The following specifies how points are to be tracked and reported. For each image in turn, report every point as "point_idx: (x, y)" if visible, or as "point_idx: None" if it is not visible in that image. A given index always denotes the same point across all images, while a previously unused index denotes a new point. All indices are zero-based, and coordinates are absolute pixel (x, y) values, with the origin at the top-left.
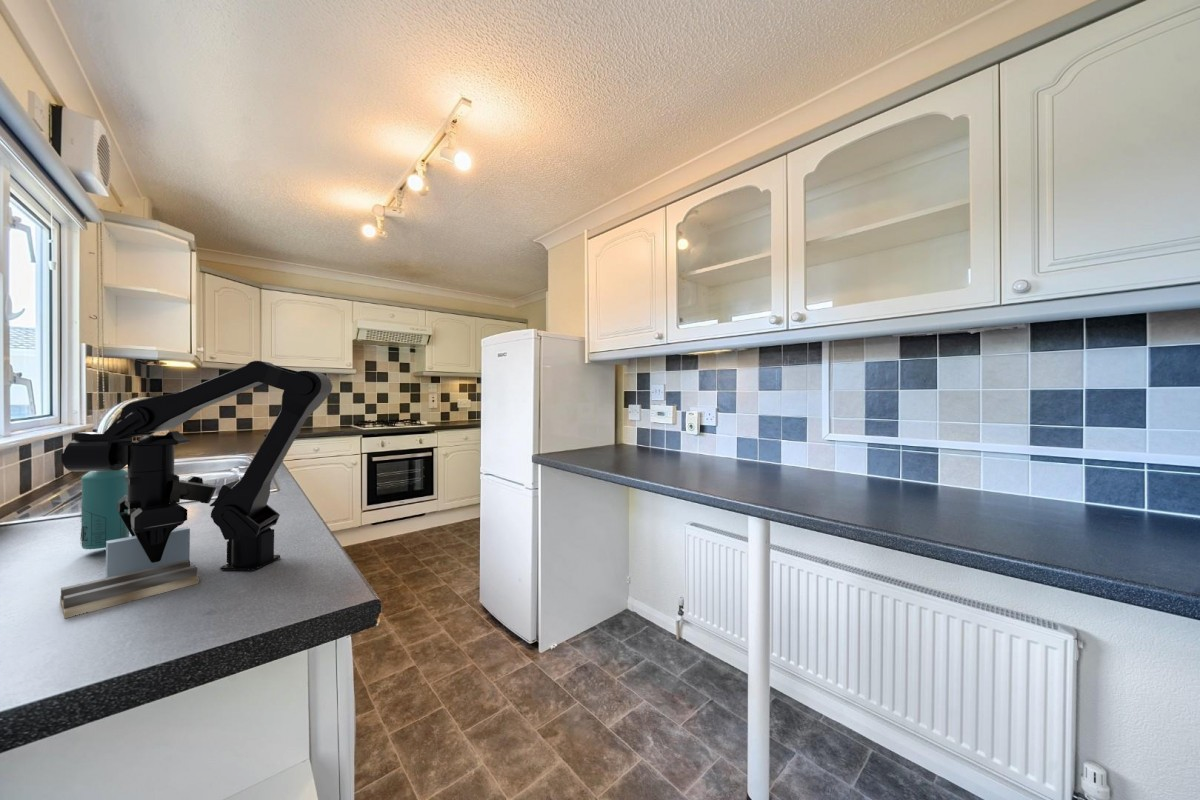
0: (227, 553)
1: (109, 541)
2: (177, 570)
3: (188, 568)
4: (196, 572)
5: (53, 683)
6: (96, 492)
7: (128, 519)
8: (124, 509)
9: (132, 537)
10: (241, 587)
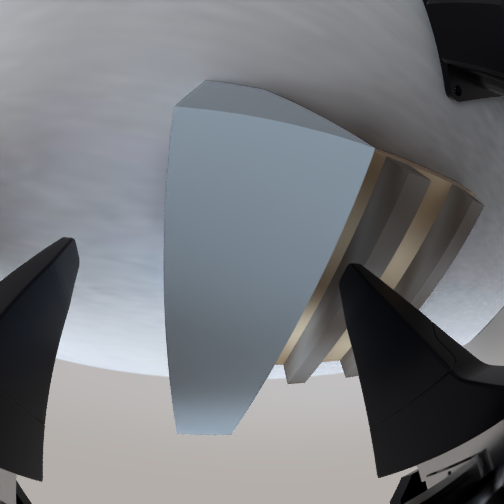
0: (476, 68)
1: (199, 433)
2: (456, 243)
3: (472, 223)
4: (470, 195)
5: (470, 334)
6: None
7: (33, 455)
8: (21, 502)
9: (206, 413)
10: None
